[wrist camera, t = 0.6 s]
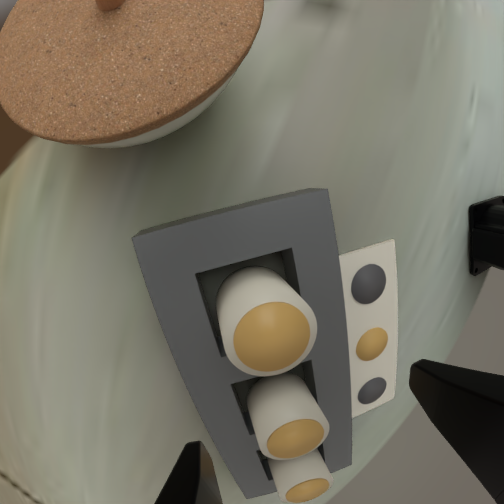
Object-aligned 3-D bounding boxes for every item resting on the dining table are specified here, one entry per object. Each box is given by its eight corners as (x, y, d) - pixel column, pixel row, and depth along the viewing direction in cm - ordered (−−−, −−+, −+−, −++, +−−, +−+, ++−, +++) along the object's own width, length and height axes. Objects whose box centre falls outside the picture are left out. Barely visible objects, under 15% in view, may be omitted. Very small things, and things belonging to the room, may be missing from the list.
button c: (313, 431, 19) (334, 470, 15) (317, 457, 20) (335, 492, 16) (262, 448, 18) (276, 489, 14) (271, 472, 19) (284, 509, 15)
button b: (302, 363, 17) (328, 405, 13) (309, 406, 18) (332, 447, 14) (239, 383, 17) (252, 430, 13) (253, 424, 18) (267, 469, 14)
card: (391, 238, 19) (395, 240, 18) (392, 396, 23) (395, 398, 22) (329, 257, 18) (332, 259, 18) (345, 418, 22) (347, 421, 21)
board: (309, 188, 17) (327, 188, 15) (341, 447, 23) (351, 464, 21) (140, 230, 16) (131, 238, 13) (242, 479, 22) (246, 499, 19)
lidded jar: (40, 67, 12) (-39, 8, 3) (184, -16, 13) (188, -116, 4) (107, 199, 15) (17, 214, 6) (268, 101, 16) (343, 26, 7)
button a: (281, 257, 15) (311, 281, 11) (294, 323, 16) (323, 361, 12) (206, 277, 15) (211, 310, 11) (226, 343, 16) (237, 389, 12)
